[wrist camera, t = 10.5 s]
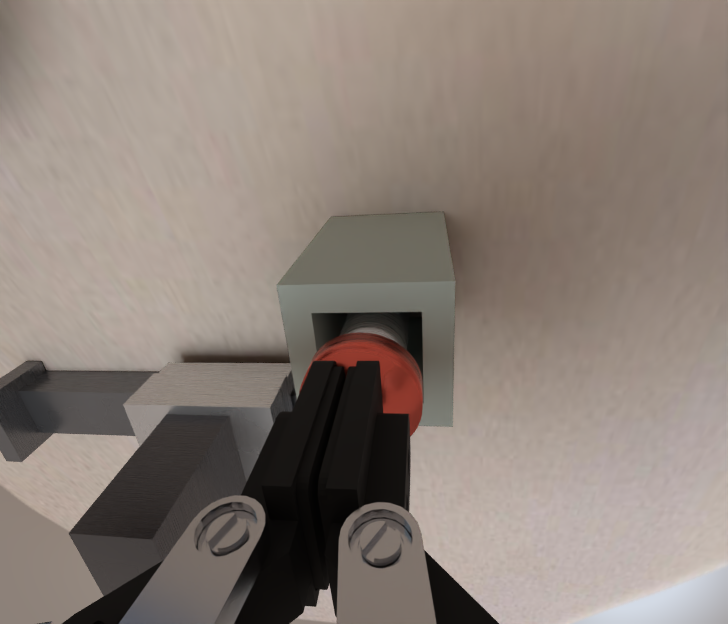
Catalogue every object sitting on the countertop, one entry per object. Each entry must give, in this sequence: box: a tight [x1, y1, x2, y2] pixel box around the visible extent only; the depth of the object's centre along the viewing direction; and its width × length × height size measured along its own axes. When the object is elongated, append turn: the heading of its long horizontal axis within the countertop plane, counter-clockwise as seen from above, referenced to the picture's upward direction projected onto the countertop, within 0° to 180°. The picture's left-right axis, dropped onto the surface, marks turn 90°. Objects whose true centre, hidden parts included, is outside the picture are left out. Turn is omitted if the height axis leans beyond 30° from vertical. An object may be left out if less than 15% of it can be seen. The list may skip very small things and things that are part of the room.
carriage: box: [69, 363, 294, 596], centre depth 19 cm, size 7×6×10 cm
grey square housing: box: [277, 212, 455, 427], centre depth 16 cm, size 5×5×8 cm
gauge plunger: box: [299, 312, 423, 436], centre depth 14 cm, size 3×3×7 cm
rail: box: [0, 361, 297, 462], centre depth 23 cm, size 19×4×4 cm, turn 94°
